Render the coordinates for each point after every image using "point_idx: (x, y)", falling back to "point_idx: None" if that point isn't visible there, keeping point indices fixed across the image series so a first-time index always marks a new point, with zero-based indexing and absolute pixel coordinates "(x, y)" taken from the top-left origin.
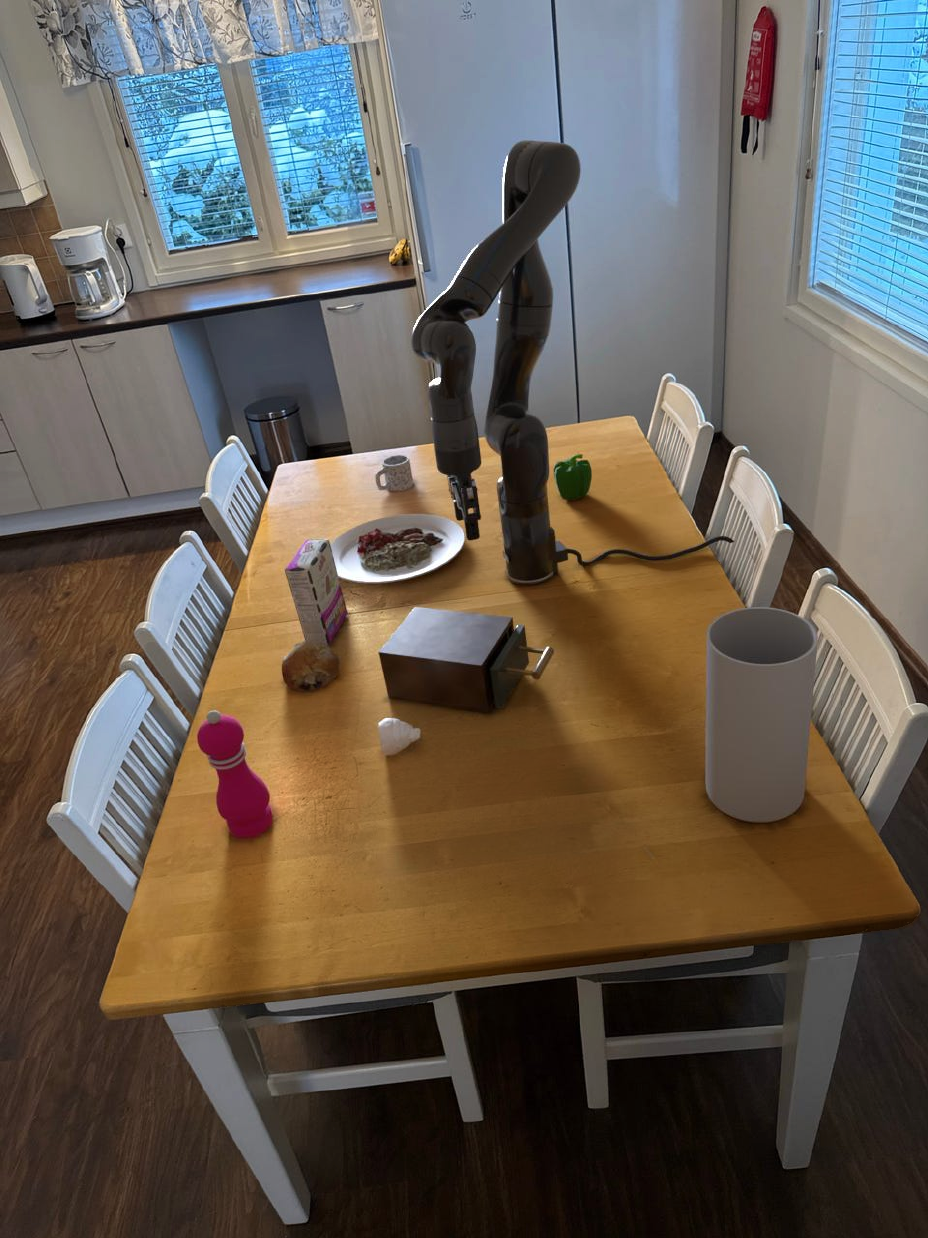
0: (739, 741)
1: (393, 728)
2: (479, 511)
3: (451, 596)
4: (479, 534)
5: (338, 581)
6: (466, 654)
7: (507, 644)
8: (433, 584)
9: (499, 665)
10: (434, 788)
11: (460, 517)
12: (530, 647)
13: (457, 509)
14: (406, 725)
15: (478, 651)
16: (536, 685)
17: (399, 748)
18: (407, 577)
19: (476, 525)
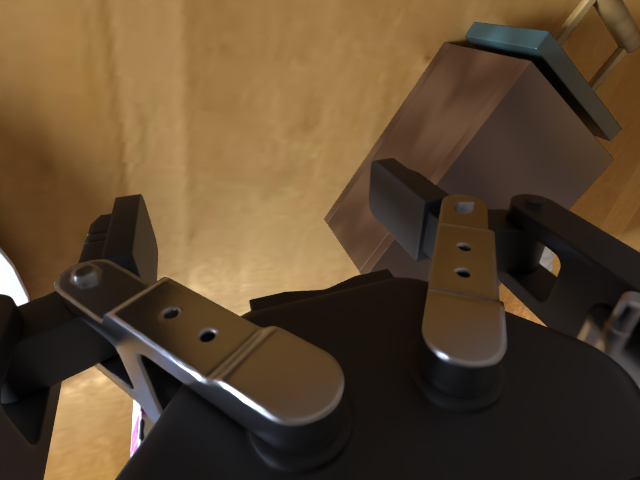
0: None
1: (548, 265)
2: (583, 221)
3: (103, 154)
4: (397, 161)
5: (147, 420)
6: (570, 183)
7: (578, 92)
8: (18, 198)
9: (615, 122)
10: (588, 204)
11: (152, 237)
12: (567, 30)
13: (153, 276)
14: (544, 249)
15: (578, 160)
16: (518, 23)
17: None
18: (13, 271)
19: (448, 195)
